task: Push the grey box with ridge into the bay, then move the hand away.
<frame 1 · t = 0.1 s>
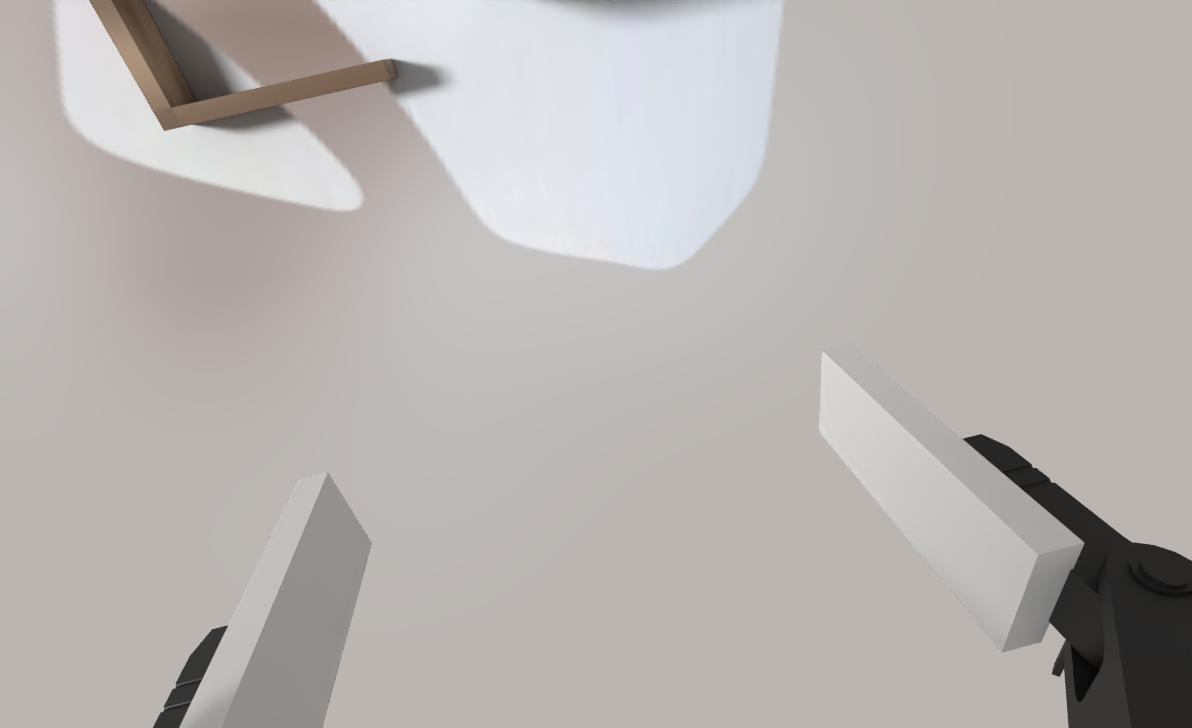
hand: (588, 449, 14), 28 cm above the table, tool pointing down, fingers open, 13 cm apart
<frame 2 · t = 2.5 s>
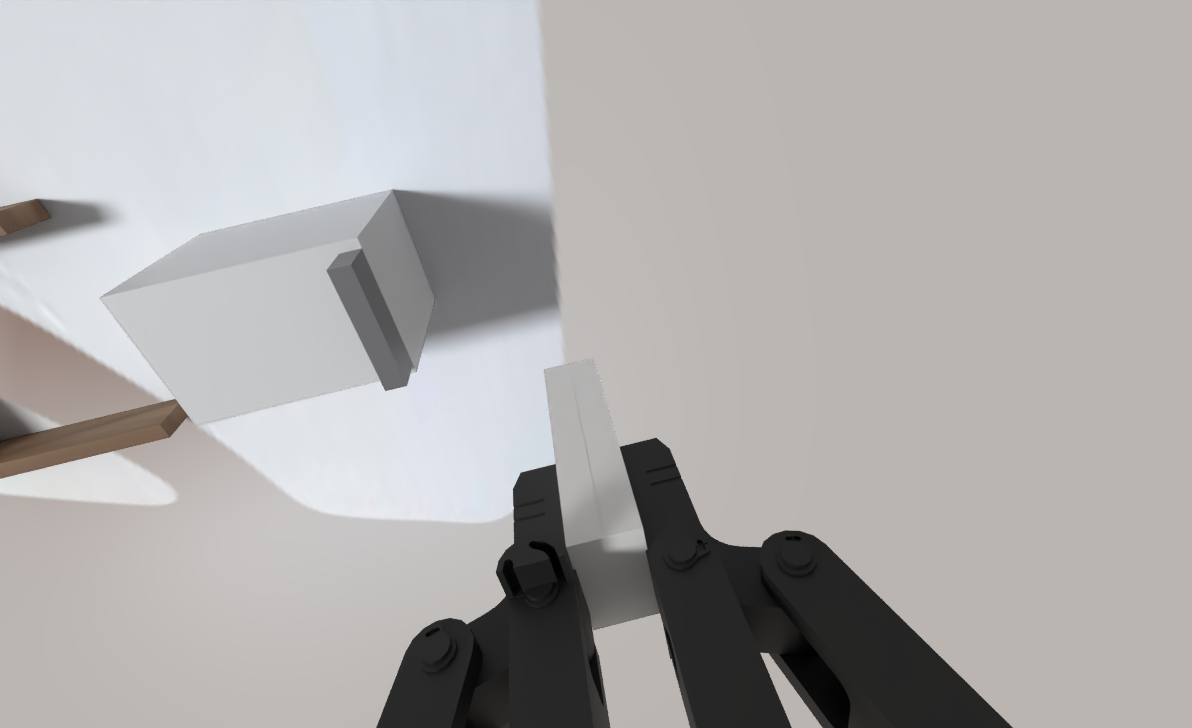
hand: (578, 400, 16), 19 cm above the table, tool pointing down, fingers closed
grey box with ridge: (325, 268, 32), on the table
bay: (22, 340, 31), on the table
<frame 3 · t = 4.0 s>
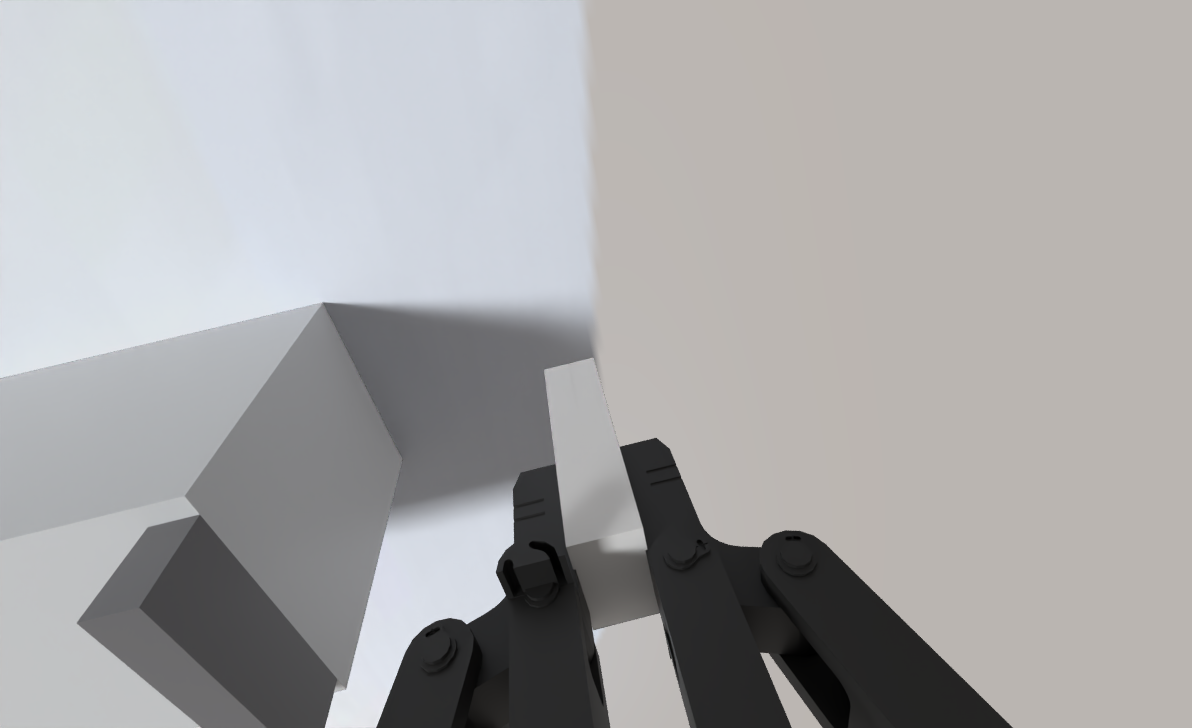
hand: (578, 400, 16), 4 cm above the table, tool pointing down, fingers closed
grey box with ridge: (217, 423, 19), on the table
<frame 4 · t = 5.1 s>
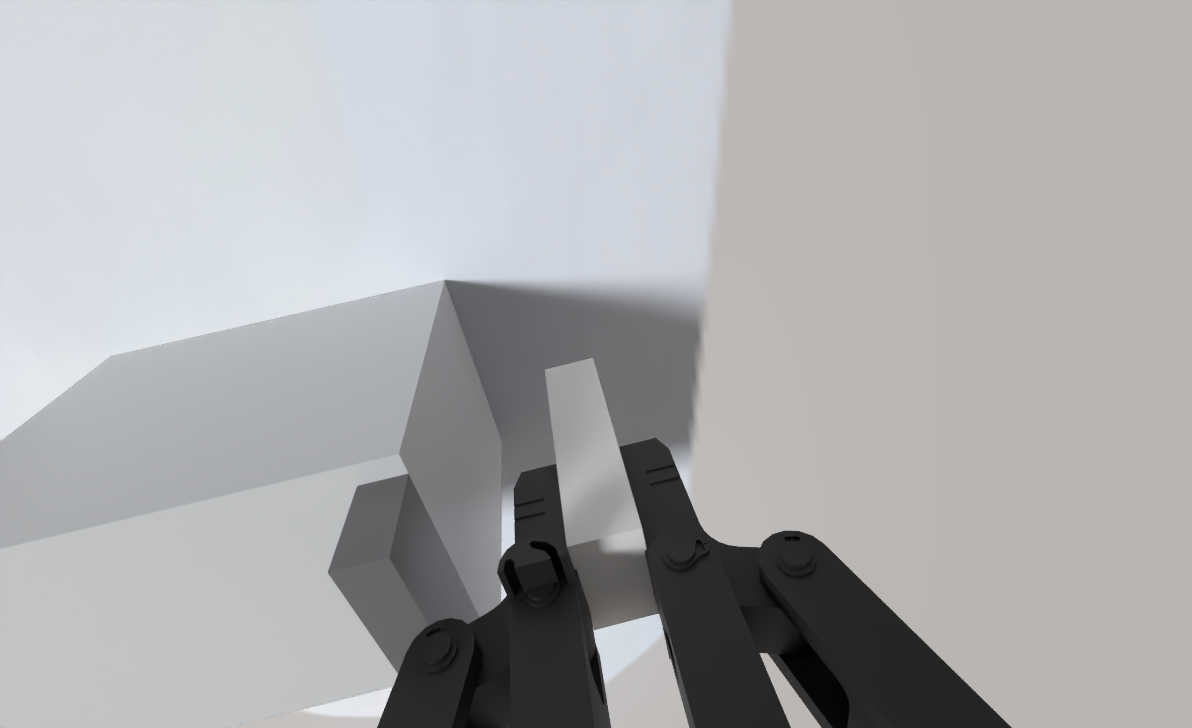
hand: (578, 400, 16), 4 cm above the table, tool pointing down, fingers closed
grey box with ridge: (327, 402, 19), on the table, touching gripper
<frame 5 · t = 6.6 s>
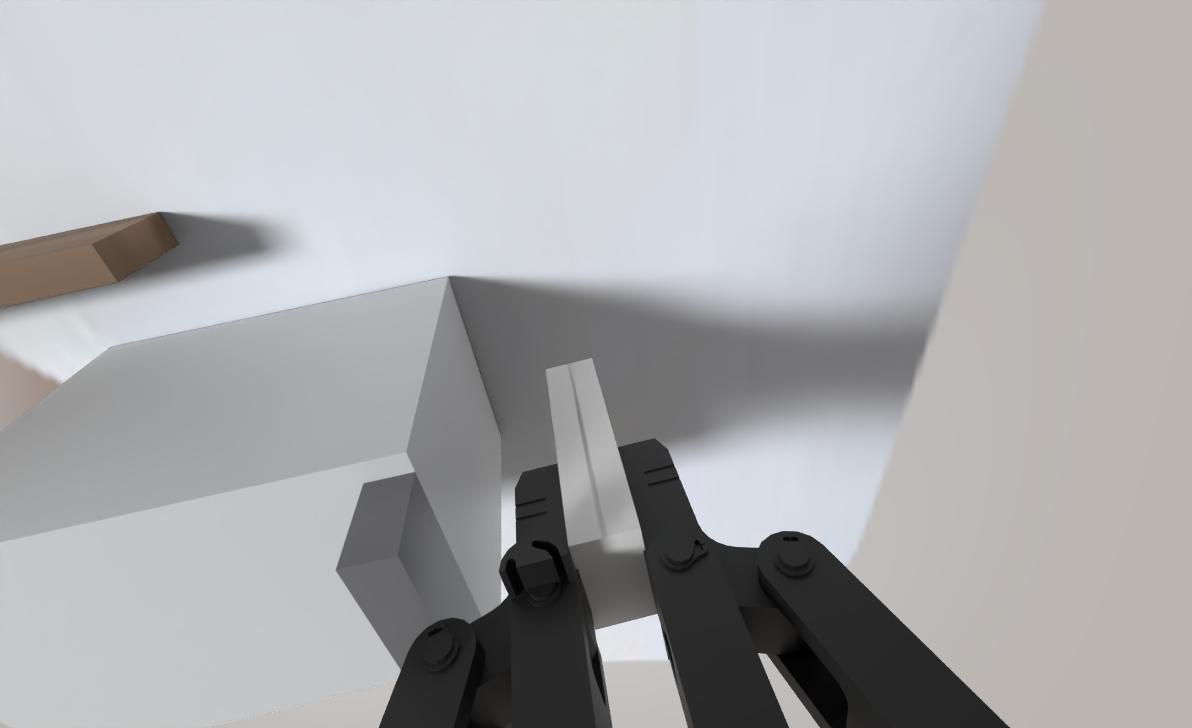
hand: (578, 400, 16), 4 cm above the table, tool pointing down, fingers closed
grey box with ridge: (326, 397, 19), on the table, touching gripper
bay: (106, 443, 19), on the table
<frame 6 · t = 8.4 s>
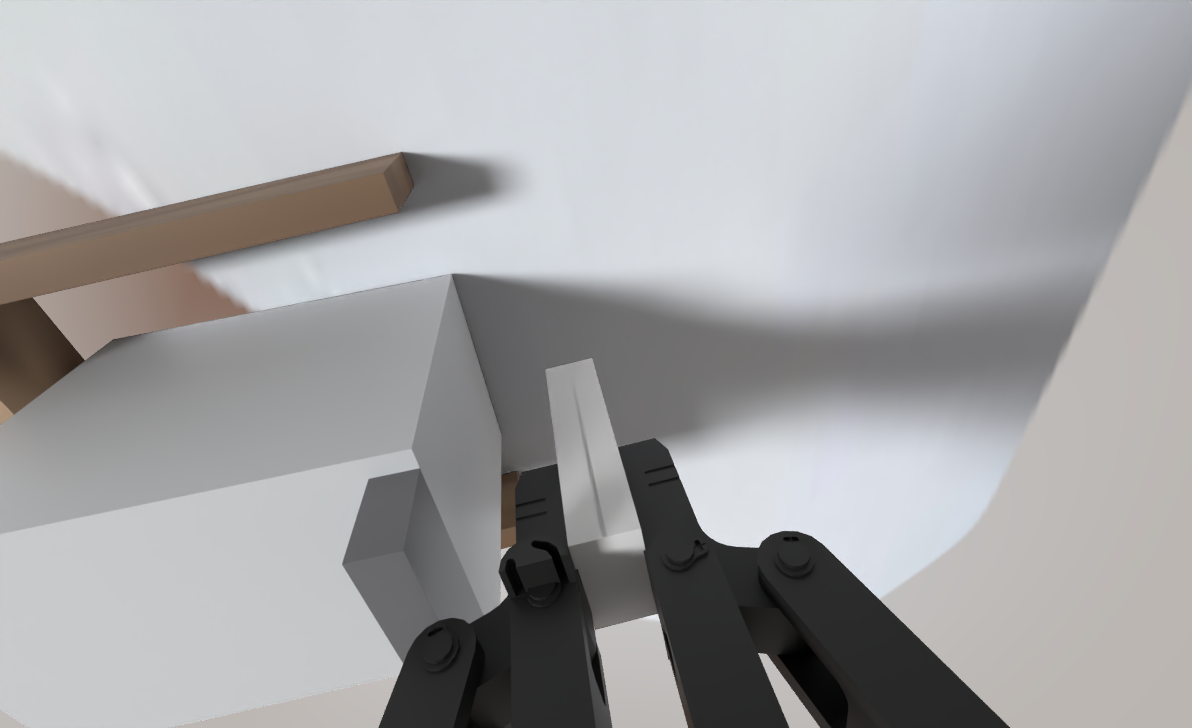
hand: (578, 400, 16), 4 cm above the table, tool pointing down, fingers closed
grey box with ridge: (328, 392, 19), on the table, touching gripper
bay: (310, 391, 19), on the table
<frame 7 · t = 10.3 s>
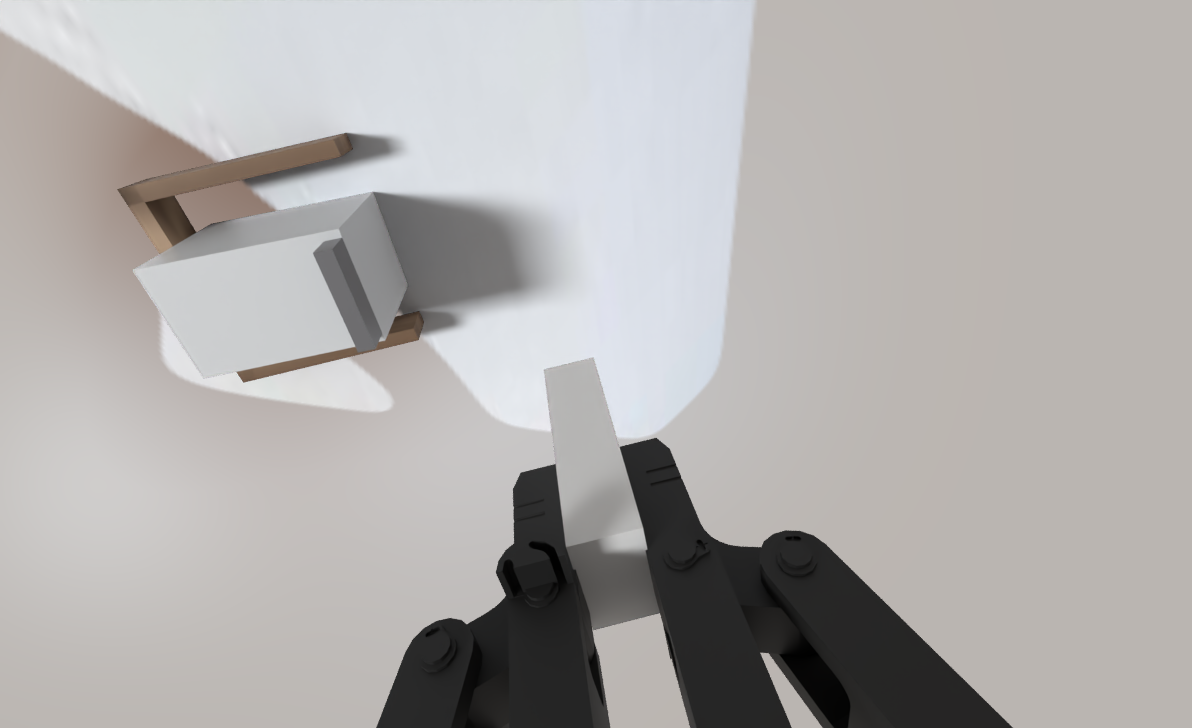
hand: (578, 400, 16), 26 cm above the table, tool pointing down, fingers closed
grey box with ridge: (315, 256, 38), on the table
bay: (305, 256, 38), on the table
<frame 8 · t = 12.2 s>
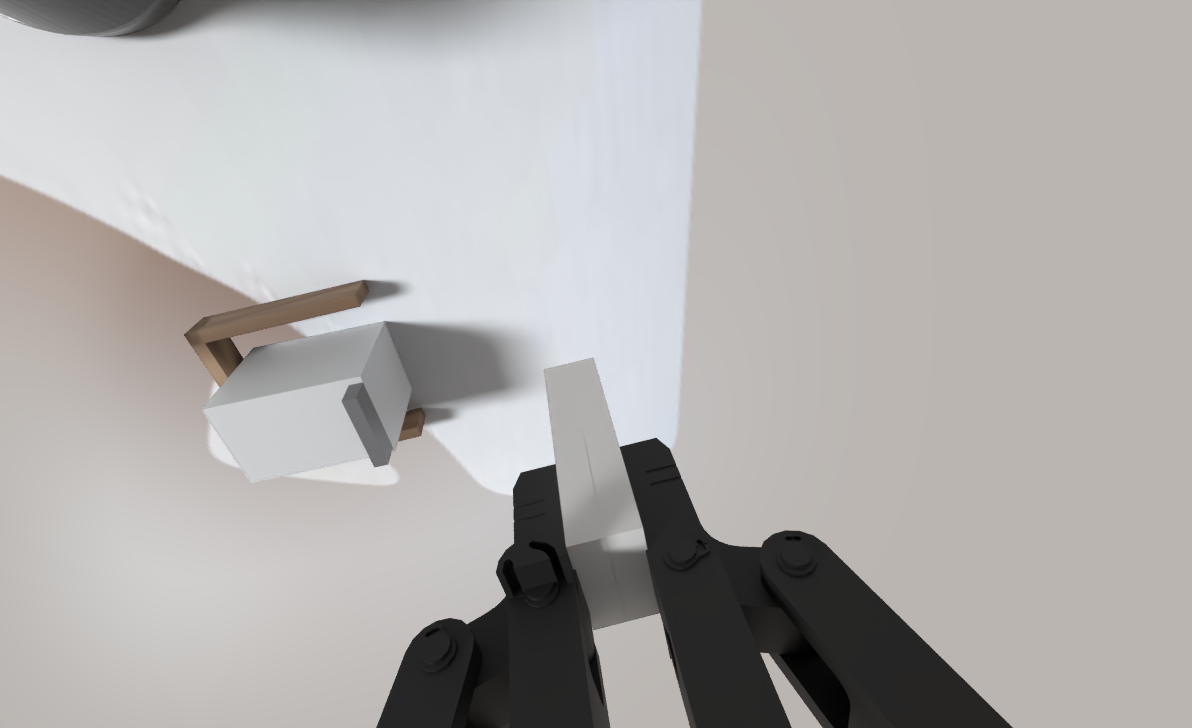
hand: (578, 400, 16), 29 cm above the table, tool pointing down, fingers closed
grey box with ridge: (336, 369, 47), on the table
bay: (329, 369, 46), on the table
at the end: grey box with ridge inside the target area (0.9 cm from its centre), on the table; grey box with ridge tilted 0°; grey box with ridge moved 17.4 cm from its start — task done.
